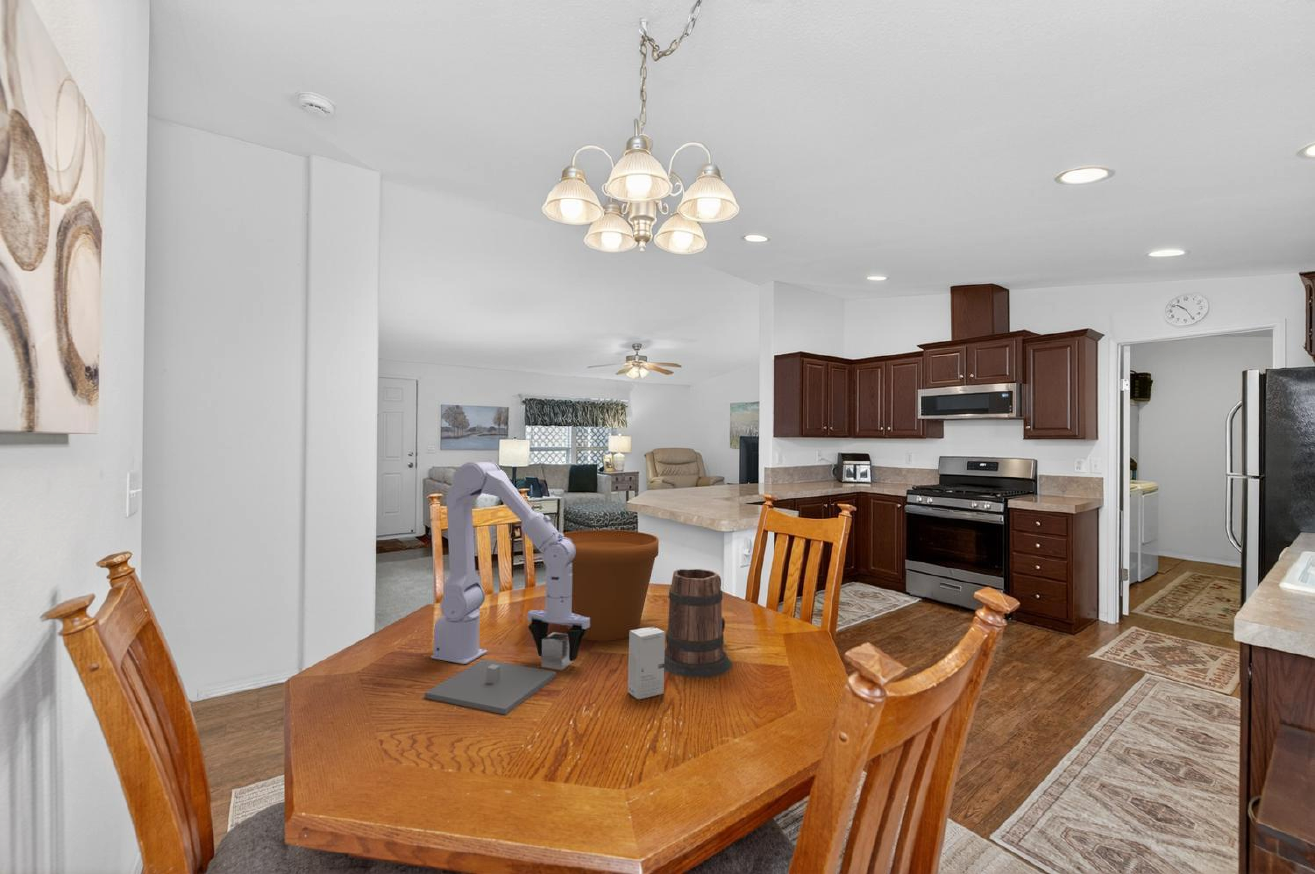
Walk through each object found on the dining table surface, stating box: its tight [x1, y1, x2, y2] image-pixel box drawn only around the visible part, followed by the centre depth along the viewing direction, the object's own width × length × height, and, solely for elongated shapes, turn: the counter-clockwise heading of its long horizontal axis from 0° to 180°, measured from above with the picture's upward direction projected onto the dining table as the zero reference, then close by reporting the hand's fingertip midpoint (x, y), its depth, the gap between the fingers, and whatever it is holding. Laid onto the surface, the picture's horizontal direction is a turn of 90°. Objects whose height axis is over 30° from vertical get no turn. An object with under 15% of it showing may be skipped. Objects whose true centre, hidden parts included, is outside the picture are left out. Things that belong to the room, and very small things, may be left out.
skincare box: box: [627, 626, 666, 700], centre depth 115 cm, size 6×4×12 cm
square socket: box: [540, 631, 574, 671], centre depth 129 cm, size 5×5×6 cm
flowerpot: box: [561, 529, 660, 641], centre depth 154 cm, size 28×28×24 cm
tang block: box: [423, 659, 557, 716], centre depth 117 cm, size 18×18×4 cm
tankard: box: [664, 568, 733, 679], centre depth 134 cm, size 24×17×20 cm
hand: (557, 656), depth 129 cm, fingers open, 7 cm apart
